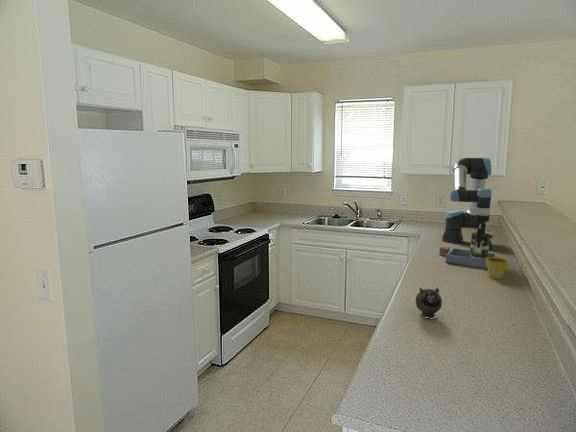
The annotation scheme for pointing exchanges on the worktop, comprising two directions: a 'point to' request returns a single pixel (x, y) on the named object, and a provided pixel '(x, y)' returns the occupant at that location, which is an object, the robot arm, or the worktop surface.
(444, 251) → the brown wooden cube
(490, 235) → the character mug
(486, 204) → the robot arm
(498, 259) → the plant pot
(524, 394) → the worktop surface
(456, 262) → the tote
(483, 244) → the coffee can
